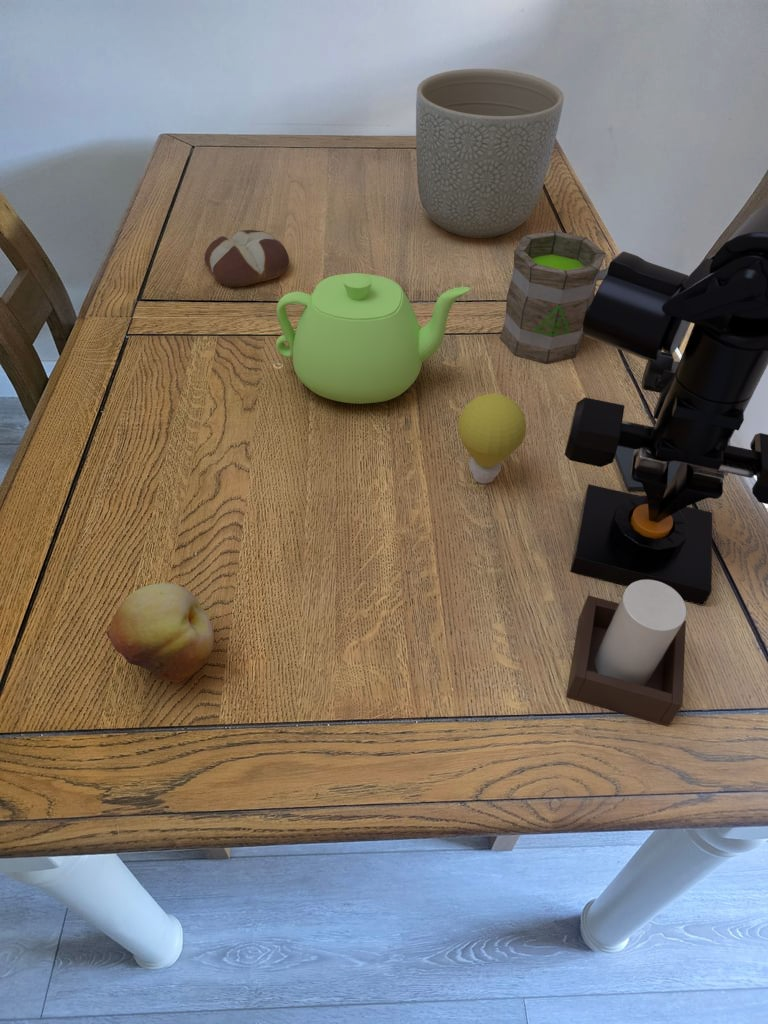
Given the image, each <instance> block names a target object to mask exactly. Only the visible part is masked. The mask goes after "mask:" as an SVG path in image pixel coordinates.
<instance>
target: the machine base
mask: <svg viewBox="0 0 768 1024" xmlns="http://www.w3.org/2000/svg"><path fill="white" fill-rule="evenodd" d="M643 504H648V500H647V496H646V495H638V494H633V493H629V492H624V491H619V490H617V489H611V488H607V487H603V486H598V485H594V484H590V483H589V484H588V485H587V487H586V490H585V493H584V496H583V500H582V505H581V510H580V511H581V512H580V516H579V520H578V521H579V522H578V526H577V531H576V532H577V533H576V536H575V537H576V538H575V543H574V548H573V549H574V550H573V554H572V559H571V566H570V573H574V574H578V575H581V576H586V577H590V578H594V579H598V580H602V581H606V582H609V583H613V584H618V585H621V586H625V587H628V586H629V585H630V584H632V583H633V582H636V581H639V580H655V581H659V582H662V583H664V584H666V585H668V586H670V587H671V588H673V589H674V590H675V591H676V592H677V593H678V594H679V595H680V596H681V597H682V599H683V601H684V602H688V603H693V604H696V605H699V606H703V605H705V603H706V602H707V600H708V598H709V596H710V594H711V593H712V587H713V585H712V583H713V582H712V579H713V577H712V575H713V573H712V572H713V566H712V565H713V512H712V511H708V510H703V509H699V508H696V507H695V508H694V507H691V506H687V507H685V508H683V509H681V510H679V511H677V512H675V513H674V514H672V515H671V516H672V519H673V526H672V528H671V530H670V532H669V534H668V536H667V538H661V539H653V538H649V537H645V536H643V535H641V534H640V533H638V532H637V531H635V530H634V529H633V527H632V526H631V524H630V519H631V517H632V514H633V512H634V510H635V509H636V508H637V507H638V506H640V505H643Z"/></svg>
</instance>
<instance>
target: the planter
mask: <svg viewBox="0 0 768 1024" xmlns="http://www.w3.org/2000/svg"><path fill="white" fill-rule="evenodd" d="M415 100H416V101H415V144H416V146H415V147H416V149H415V150H416V174H417V175H416V176H417V187H418V195H419V199H420V202H421V205H422V208H423V210H424V212H426V214H427V215H428V217H429V218H430V219H431V220H432V221H433V222H434V223H435V224H436V225H438V227H440V228H442V229H443V230H445V231H446V232H449V233H452V234H453V235H456V236H460V237H465V238H472V239H487V238H488V239H489V238H494V237H499V236H502V235H505V234H507V233H510V232H512V231H513V230H515V229H516V228H518V227H520V226H521V225H522V224H523V223H525V222H526V221H527V220H528V219H529V218H530V216H531V215H532V214H533V213H534V211H535V209H536V207H537V205H538V203H539V200H540V197H541V194H542V191H543V189H544V188H543V187H544V184H545V182H546V178H547V173H548V170H549V166H550V163H551V159H552V155H553V152H554V148H555V147H554V146H555V144H556V139H557V135H558V129H559V125H560V122H561V117H562V111H563V106H564V100H565V97H564V94H563V91H562V90H561V89H560V88H559V87H558V86H557V85H556V84H554V83H552V82H550V81H548V80H546V79H543V78H541V77H538V76H535V75H532V74H529V73H524V72H519V71H515V70H508V69H507V70H506V69H497V68H496V69H495V68H464V69H463V68H461V69H455V70H448V71H443V72H439V73H436V74H433V75H430V76H428V77H426V78H425V79H423V80H422V81H420V83H419V84H418V85H417V89H416V98H415Z"/></svg>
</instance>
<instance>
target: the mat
mask: <svg viewBox="0 0 768 1024" xmlns="http://www.w3.org/2000/svg"><path fill="white" fill-rule="evenodd" d="M633 452H634V449H631V448H626V447H621V446H618V447H617V451H616V454H615V457H614V460H615V461H616V463H617V467H618V469H619V471H620V474H621V477H622V479H623V482H624V485H625V488H626V491H627V492H637V491H638V492H639V491H641V492H643V491H644V492H645V490H644V487H643V485H642V483H640V482H637V481H634V480H633V479H632V478H631V468H632V460H633ZM679 466H680V463H679V462H674V461H671V462H670V463H669V467H668V481H667V487H668V485H669V483H670V482H671V480H672V478H673V477H674V475H675V473H676V471H677V470H678V468H679ZM667 487H666V489H667Z"/></svg>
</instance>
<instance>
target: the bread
mask: <svg viewBox="0 0 768 1024" xmlns="http://www.w3.org/2000/svg"><path fill="white" fill-rule="evenodd" d="M204 263H205V265H206V268H207V269H208V270H209V271H210V272H211V273H212V275H213V277H214V278H215V279H216V280H217V281H218V282H219V283H221V284H222V285H224V286H227V287H235V288H236V287H237V288H238V287H239V288H240V287H246V286H251V285H254V284H258V283H262V282H266V281H270V280H274V279H277V278H280V277H283V275H284V274H285V273H286V272H287V270H288V268H289V264H290V257H289V254H288V250H287V249H286V248H285V246H284V245H283V243H282V242H281V241H279V240H277V239H276V237H275V236H274V235H272V234H271V233H269V232H267V231H263V230H254V229H243V230H238V231H237V232H235V234H234V235H233V236H232V238H230V237H228V236H225V235H221V236H219V237H217V238H216V239H215V240H213V241H212V242H211V243H210V244H209V245H208V247H207V248H206V250H205V253H204Z"/></svg>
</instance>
